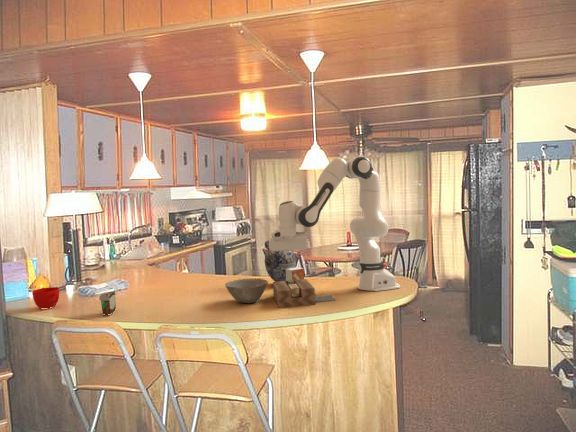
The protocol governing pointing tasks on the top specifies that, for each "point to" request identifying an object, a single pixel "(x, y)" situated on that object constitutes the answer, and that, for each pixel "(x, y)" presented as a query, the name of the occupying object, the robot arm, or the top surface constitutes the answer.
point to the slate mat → (324, 298)
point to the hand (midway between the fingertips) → (289, 258)
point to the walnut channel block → (284, 293)
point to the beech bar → (294, 289)
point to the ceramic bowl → (246, 289)
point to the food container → (108, 302)
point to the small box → (294, 274)
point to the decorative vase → (278, 263)
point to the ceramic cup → (46, 297)
